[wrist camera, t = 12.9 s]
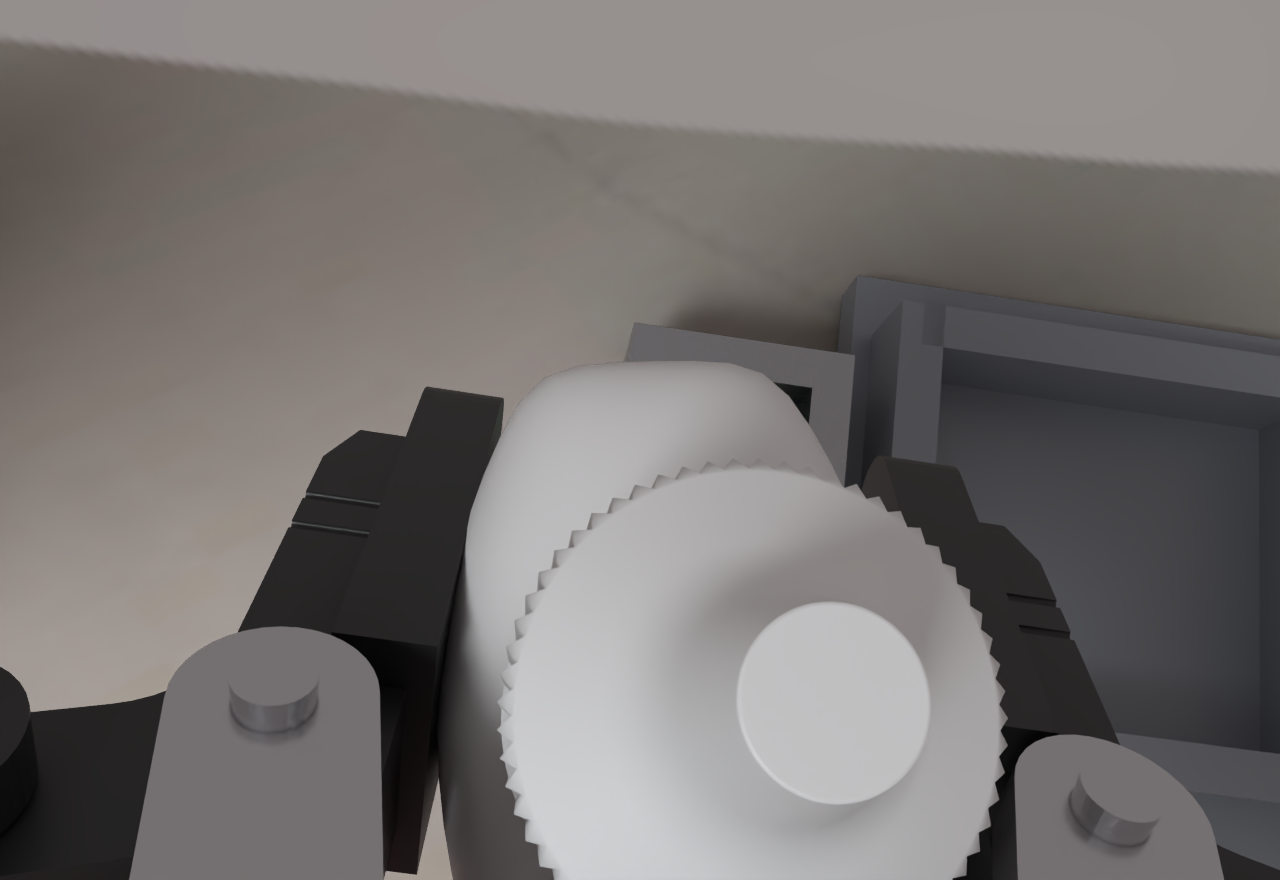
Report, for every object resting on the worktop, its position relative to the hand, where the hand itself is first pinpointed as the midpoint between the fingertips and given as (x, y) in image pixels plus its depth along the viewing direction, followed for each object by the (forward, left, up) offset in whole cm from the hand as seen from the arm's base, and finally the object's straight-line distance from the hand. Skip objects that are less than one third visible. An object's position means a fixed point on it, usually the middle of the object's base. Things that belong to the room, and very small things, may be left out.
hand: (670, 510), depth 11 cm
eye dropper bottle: (0, -2, -5) cm, 6 cm away
